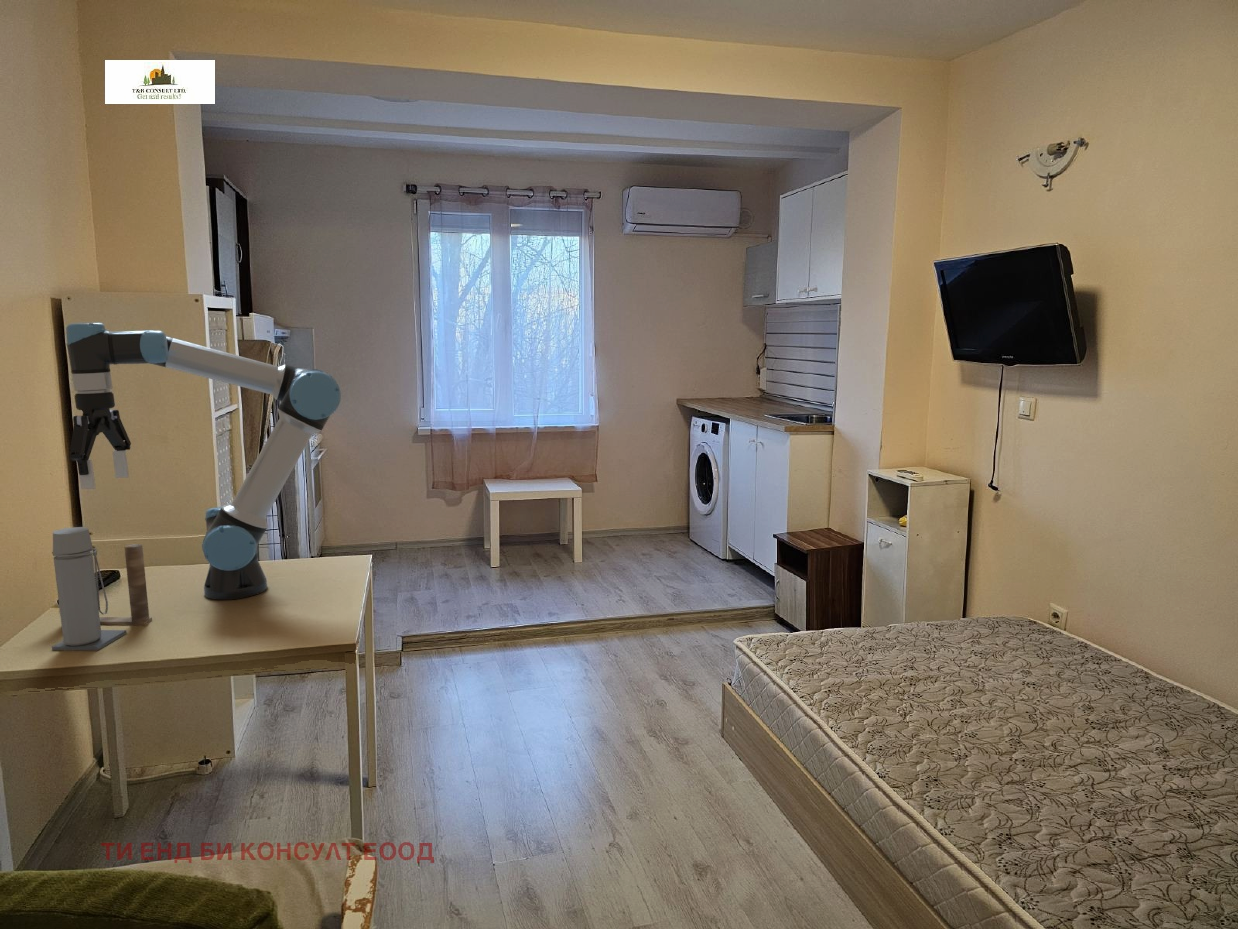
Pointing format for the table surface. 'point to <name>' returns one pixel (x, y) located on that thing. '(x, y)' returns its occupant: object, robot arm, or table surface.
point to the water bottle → (77, 585)
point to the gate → (134, 590)
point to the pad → (104, 640)
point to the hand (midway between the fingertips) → (106, 483)
